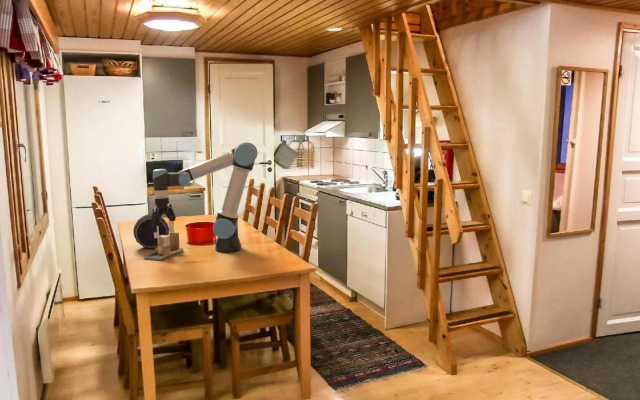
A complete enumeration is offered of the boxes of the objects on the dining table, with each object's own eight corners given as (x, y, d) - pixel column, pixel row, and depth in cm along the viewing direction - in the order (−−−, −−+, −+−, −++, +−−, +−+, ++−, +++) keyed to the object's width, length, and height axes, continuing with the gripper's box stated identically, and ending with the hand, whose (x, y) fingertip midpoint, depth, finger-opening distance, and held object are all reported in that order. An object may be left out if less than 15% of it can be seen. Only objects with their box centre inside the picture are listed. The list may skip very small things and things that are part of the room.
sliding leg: (170, 253, 283) (169, 235, 282) (166, 254, 279) (165, 237, 278) (158, 251, 286) (157, 234, 284) (153, 253, 282) (152, 236, 280)
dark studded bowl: (170, 248, 300) (168, 215, 296) (134, 251, 293) (132, 217, 290) (169, 244, 310) (167, 212, 306) (134, 246, 303) (132, 214, 300)
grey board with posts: (183, 251, 293) (182, 232, 291) (161, 260, 273) (160, 240, 271) (167, 249, 296) (166, 231, 294) (144, 259, 277) (143, 239, 275)
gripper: (169, 193, 290) (171, 229, 293) (141, 200, 267) (144, 240, 270) (180, 194, 287) (183, 230, 291) (153, 201, 264) (156, 240, 268)
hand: (164, 235), depth 280 cm, fingers open, 13 cm apart
